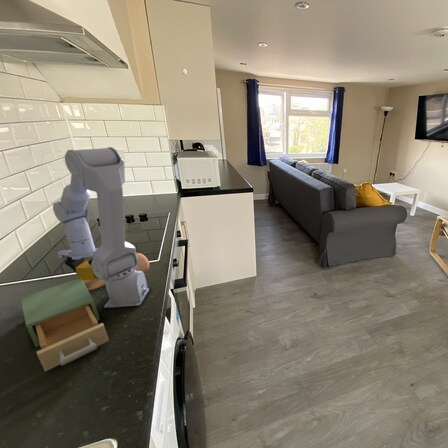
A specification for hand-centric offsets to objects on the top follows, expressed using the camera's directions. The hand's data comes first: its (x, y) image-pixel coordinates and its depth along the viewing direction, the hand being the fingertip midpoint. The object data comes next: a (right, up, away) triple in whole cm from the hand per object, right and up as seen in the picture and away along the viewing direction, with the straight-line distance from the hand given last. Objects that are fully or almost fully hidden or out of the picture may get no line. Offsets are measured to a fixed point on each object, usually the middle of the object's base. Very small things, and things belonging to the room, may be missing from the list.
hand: (91, 276), depth 85 cm
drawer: (+14, -11, -23) cm, 29 cm away
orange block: (0, 0, 0) cm, 0 cm away
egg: (+12, -1, +6) cm, 13 cm away
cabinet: (+4, -8, -14) cm, 17 cm away
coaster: (0, -2, +1) cm, 2 cm away
